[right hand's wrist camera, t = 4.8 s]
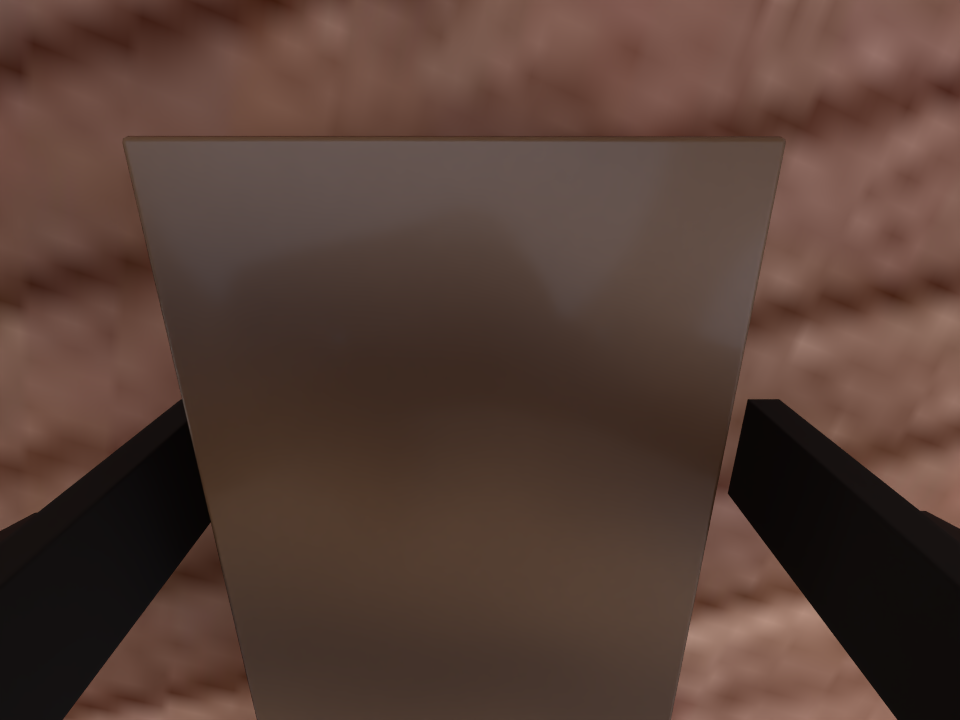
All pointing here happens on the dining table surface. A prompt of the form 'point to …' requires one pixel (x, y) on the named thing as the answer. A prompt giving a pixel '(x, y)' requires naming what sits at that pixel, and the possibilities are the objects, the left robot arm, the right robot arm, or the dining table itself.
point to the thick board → (458, 405)
